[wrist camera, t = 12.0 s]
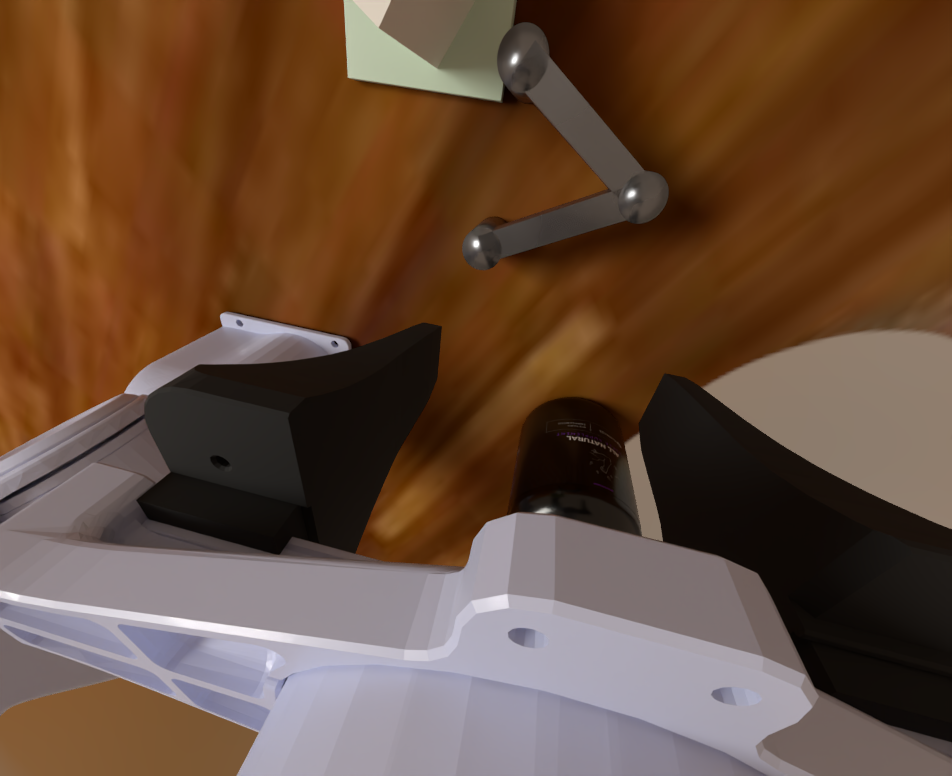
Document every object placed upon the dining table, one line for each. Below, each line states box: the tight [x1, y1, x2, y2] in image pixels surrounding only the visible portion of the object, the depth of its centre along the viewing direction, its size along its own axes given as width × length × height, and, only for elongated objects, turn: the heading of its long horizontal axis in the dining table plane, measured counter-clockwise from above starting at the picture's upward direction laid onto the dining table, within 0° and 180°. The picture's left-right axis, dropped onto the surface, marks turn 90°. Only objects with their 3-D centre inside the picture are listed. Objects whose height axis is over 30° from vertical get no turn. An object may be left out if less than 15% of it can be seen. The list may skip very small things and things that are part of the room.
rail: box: [463, 22, 669, 270], centre depth 15 cm, size 8×8×4 cm
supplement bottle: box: [507, 398, 642, 536], centre depth 20 cm, size 7×7×12 cm
